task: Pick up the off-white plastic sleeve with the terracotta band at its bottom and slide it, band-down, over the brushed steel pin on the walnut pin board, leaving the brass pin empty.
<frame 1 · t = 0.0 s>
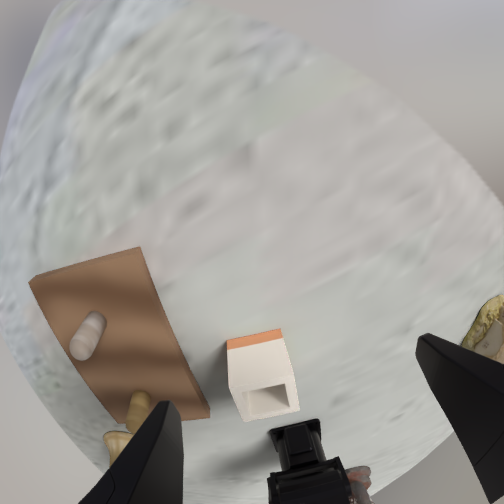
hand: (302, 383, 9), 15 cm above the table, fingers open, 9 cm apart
lantern: (344, 477, 43), on the table
sleeve: (258, 354, 27), on the table
ceramic model: (487, 330, 31), on the table
hand bell: (130, 444, 32), on the table
pin board: (124, 352, 25), on the table
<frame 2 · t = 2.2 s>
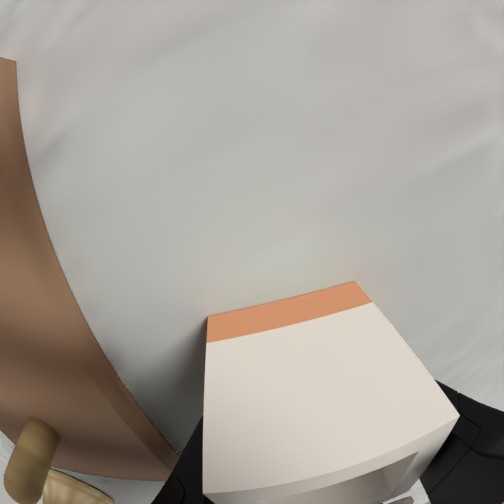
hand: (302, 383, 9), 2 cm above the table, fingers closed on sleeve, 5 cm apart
sleeve: (292, 354, 10), on the table, touching gripper
hand bell: (73, 485, 16), on the table
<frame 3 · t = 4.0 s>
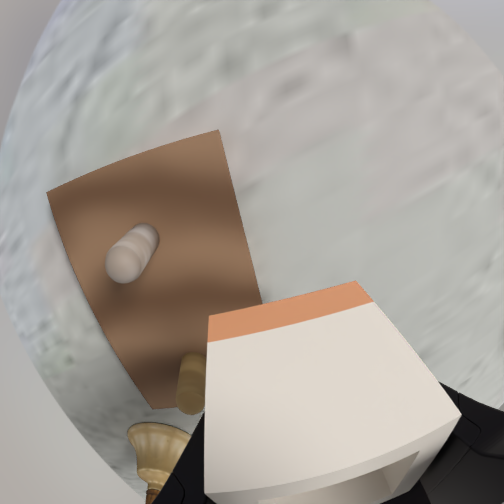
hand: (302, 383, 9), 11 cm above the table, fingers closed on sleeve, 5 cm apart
sleeve: (293, 354, 10), point 10 cm above the table, touching gripper
hand bell: (162, 440, 27), on the table
pin board: (173, 297, 20), on the table
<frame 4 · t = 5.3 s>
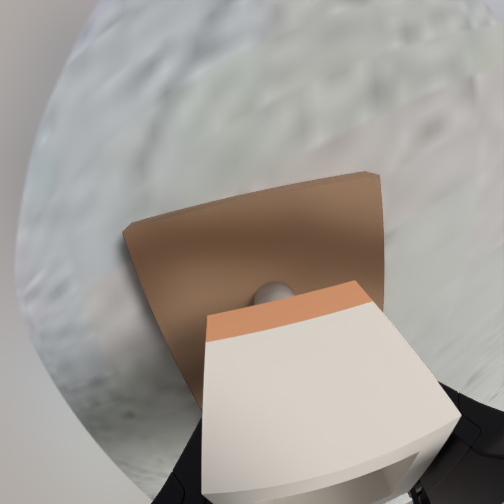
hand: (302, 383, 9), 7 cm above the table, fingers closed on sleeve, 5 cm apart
sleeve: (292, 354, 10), point 6 cm above the table, touching gripper
pin board: (283, 353, 17), on the table
when the fingers open (4 cm above the table, at t = 6.2 s): sleeve drops 1 cm, resting on pin board.
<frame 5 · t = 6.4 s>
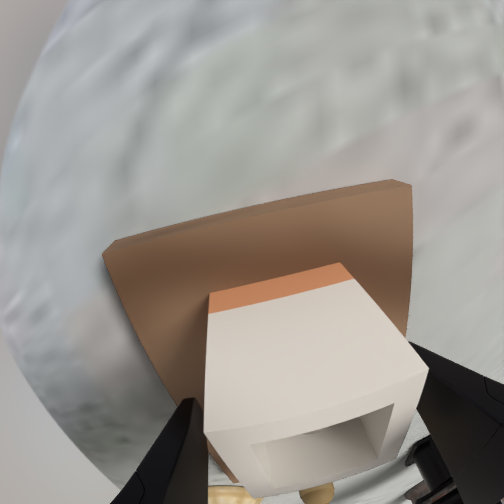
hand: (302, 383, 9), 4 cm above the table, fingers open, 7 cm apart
lantern: (429, 480, 32), on the table
sleeve: (286, 330, 12), point 1 cm above the table, touching pin board
hand bell: (223, 495, 22), on the table
pin board: (291, 382, 15), on the table
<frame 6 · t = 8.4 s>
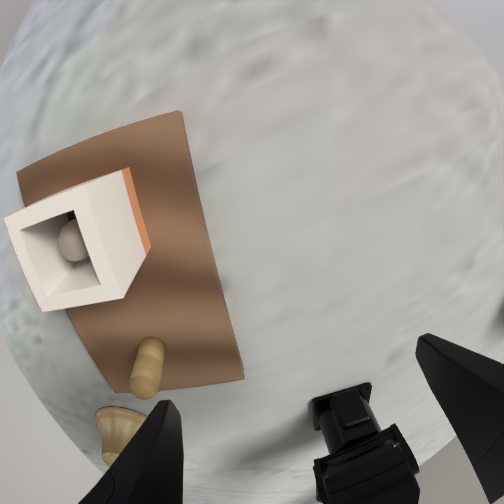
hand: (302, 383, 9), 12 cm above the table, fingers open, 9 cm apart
sleeve: (103, 217, 16), point 1 cm above the table, touching pin board
hand bell: (128, 425, 26), on the table
pin board: (133, 279, 19), on the table
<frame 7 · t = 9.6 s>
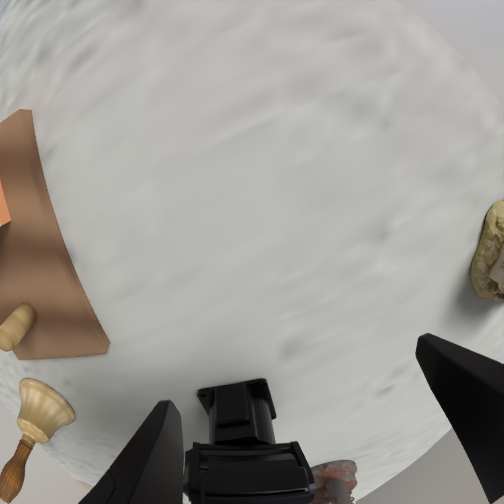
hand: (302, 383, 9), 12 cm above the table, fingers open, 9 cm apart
lantern: (323, 474, 35), on the table
ceramic model: (502, 253, 23), on the table
hand bell: (47, 400, 25), on the table
pin board: (13, 252, 18), on the table
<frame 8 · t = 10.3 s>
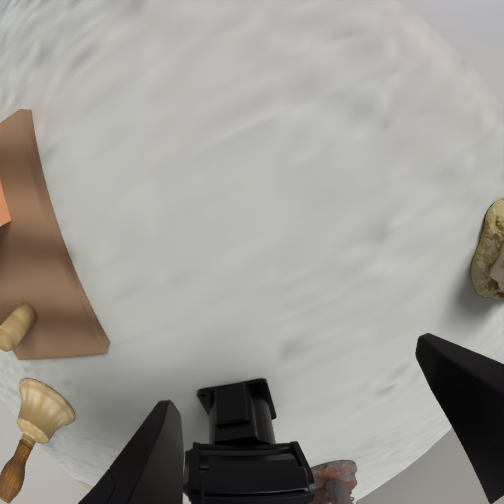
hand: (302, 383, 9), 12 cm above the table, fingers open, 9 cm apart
lantern: (323, 474, 35), on the table
ceramic model: (502, 252, 23), on the table
hand bell: (47, 400, 25), on the table
pin board: (13, 252, 18), on the table
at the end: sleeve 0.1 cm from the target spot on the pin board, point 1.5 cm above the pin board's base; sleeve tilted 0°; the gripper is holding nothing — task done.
